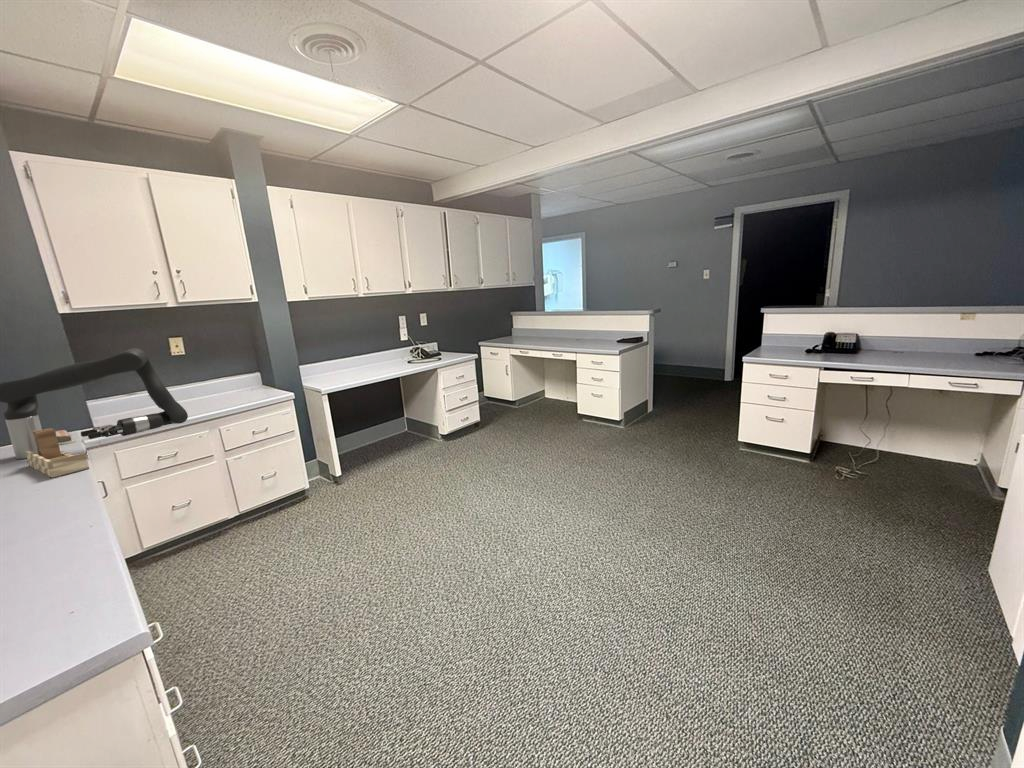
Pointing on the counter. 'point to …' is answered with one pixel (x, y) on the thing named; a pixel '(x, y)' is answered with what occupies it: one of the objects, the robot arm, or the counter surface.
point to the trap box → (58, 463)
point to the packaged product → (64, 437)
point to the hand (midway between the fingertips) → (84, 435)
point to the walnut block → (47, 443)
